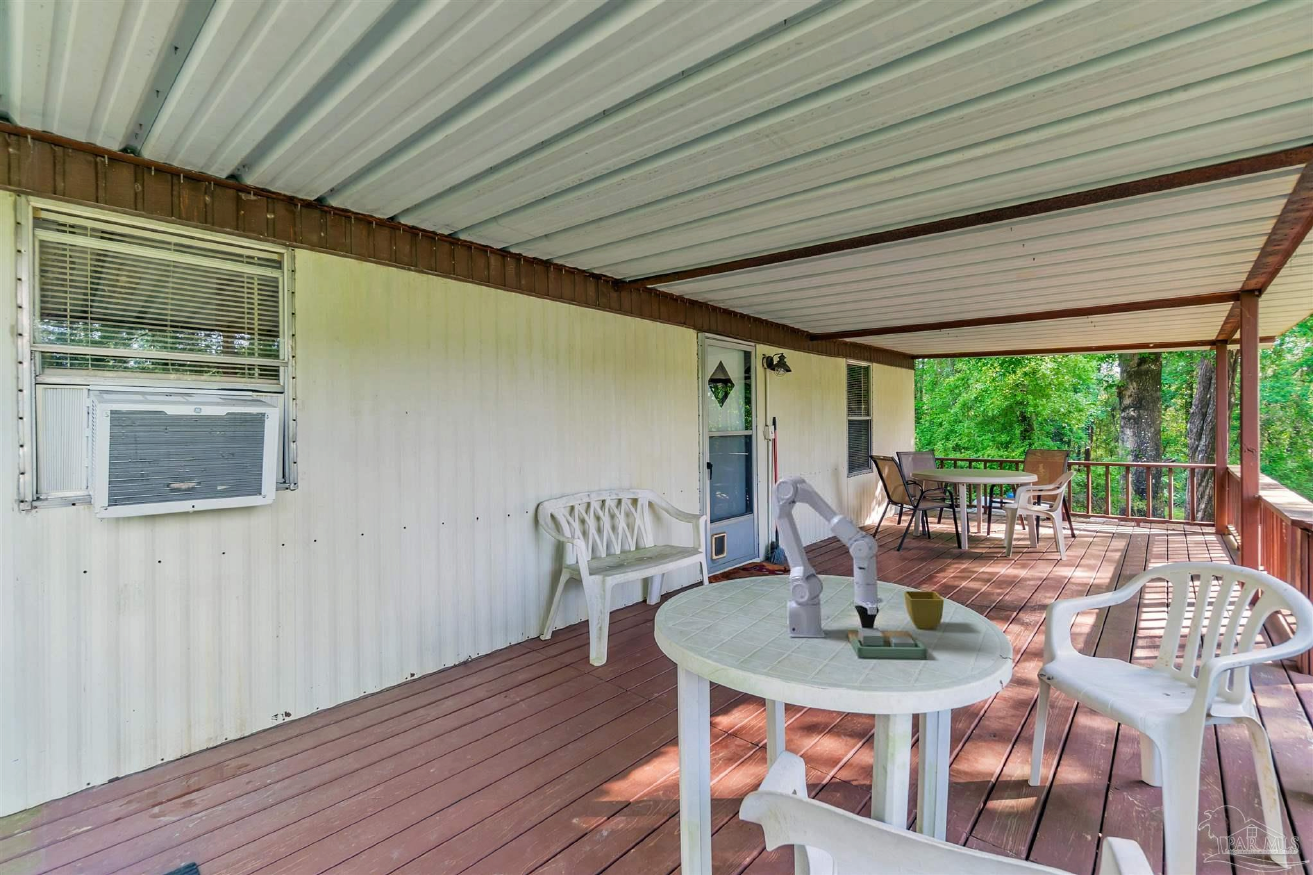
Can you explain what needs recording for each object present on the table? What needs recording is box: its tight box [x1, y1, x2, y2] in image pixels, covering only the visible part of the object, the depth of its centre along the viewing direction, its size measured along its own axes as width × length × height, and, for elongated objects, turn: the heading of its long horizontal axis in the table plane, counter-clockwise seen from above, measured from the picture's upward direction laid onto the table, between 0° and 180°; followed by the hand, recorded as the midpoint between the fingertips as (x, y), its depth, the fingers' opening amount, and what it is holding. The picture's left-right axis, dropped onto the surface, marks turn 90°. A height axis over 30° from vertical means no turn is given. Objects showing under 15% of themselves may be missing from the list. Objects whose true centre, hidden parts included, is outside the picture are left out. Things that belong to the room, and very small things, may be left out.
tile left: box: [857, 627, 883, 645], centre depth 149 cm, size 5×5×2 cm
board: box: [846, 629, 913, 646], centre depth 153 cm, size 16×8×2 cm, turn 81°
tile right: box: [889, 636, 915, 648], centre depth 146 cm, size 5×5×2 cm
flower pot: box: [903, 590, 945, 630], centre depth 164 cm, size 9×9×9 cm
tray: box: [851, 636, 928, 660], centre depth 145 cm, size 16×8×2 cm, turn 81°
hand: (867, 633), depth 152 cm, fingers closed
